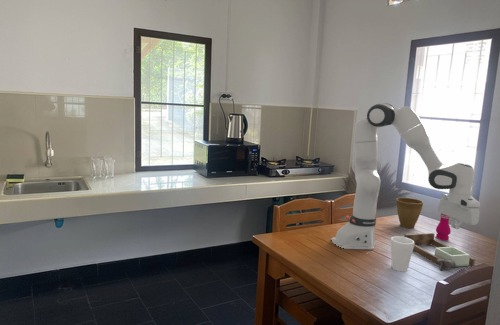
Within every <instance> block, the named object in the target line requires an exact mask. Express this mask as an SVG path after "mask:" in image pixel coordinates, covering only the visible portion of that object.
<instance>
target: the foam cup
mask: <svg viewBox="0 0 500 325" xmlns="http://www.w3.org/2000/svg"><path fill="white" fill-rule="evenodd" d="M414 243H415V242H414V241H413V240H412V239H409V238H406V237H404V236H391V238H390V251H391V257H390V258H391V268H392V269H393V270H394V271H396V270H397V272H400V271H403V272H402V273H405V272H407V271H408V269H409V265H410V261H411V258H412V255H413V252H414V251H413V248H414Z"/></svg>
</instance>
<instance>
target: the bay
mask: <svg viewBox="0 0 500 325" xmlns="http://www.w3.org/2000/svg"><path fill="white" fill-rule="evenodd" d="M403 237H406V238H409V239H412V240H413V241H414V242H415V243H414V248H413V251H412V252H414V253H416V254H418V255H419V256H421V257H423V258H425V259H427V261H430V262H432V263H433V264H435V265H437V266H439V267H440V268H439V270H440V271H444V270H453V269H456V264H455V262H454V261H453V260H448V261H444V260H443V259H440V258H439V257H437V256H435V254H433V253H431V252H429V251H428V250H426V249H424V248H422V247H421V246H433V247H434V248H439V247H450V245H447V244H444V243H442V242H441V241H438V240H437V239H435V233H434V232H423V233H421V232H420V233H405V234H404V236H403ZM475 262H476V259H475V258H474V257H472V256H470V259H469V266H473V267H474V266H475Z"/></svg>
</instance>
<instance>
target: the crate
mask: <svg viewBox="0 0 500 325" xmlns="http://www.w3.org/2000/svg"><path fill="white" fill-rule="evenodd" d="M434 248H435V249H434V255H435V256H437V257H439V258H440V259H443V260H444V261H448V260H453V261H454V262H455V264H456V267H468V266H470V265H469V259H470V257H471V255H470V254H469V253H467V252H465V251H463V250H461V249H459V248H457V247H455V246H449V247H439V248H437V247H434ZM456 267H455V268H456Z"/></svg>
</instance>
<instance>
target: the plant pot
mask: <svg viewBox="0 0 500 325" xmlns="http://www.w3.org/2000/svg"><path fill="white" fill-rule="evenodd" d="M423 206H424V201H423V200H420V199H417V198H411V197H396V210H397V216H398V220H399V224H400V227H403V228H407V229H413V228H414V227H415V226H416V224H417V222H418V220H419V217H420V215H421V212H422V209H423Z"/></svg>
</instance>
